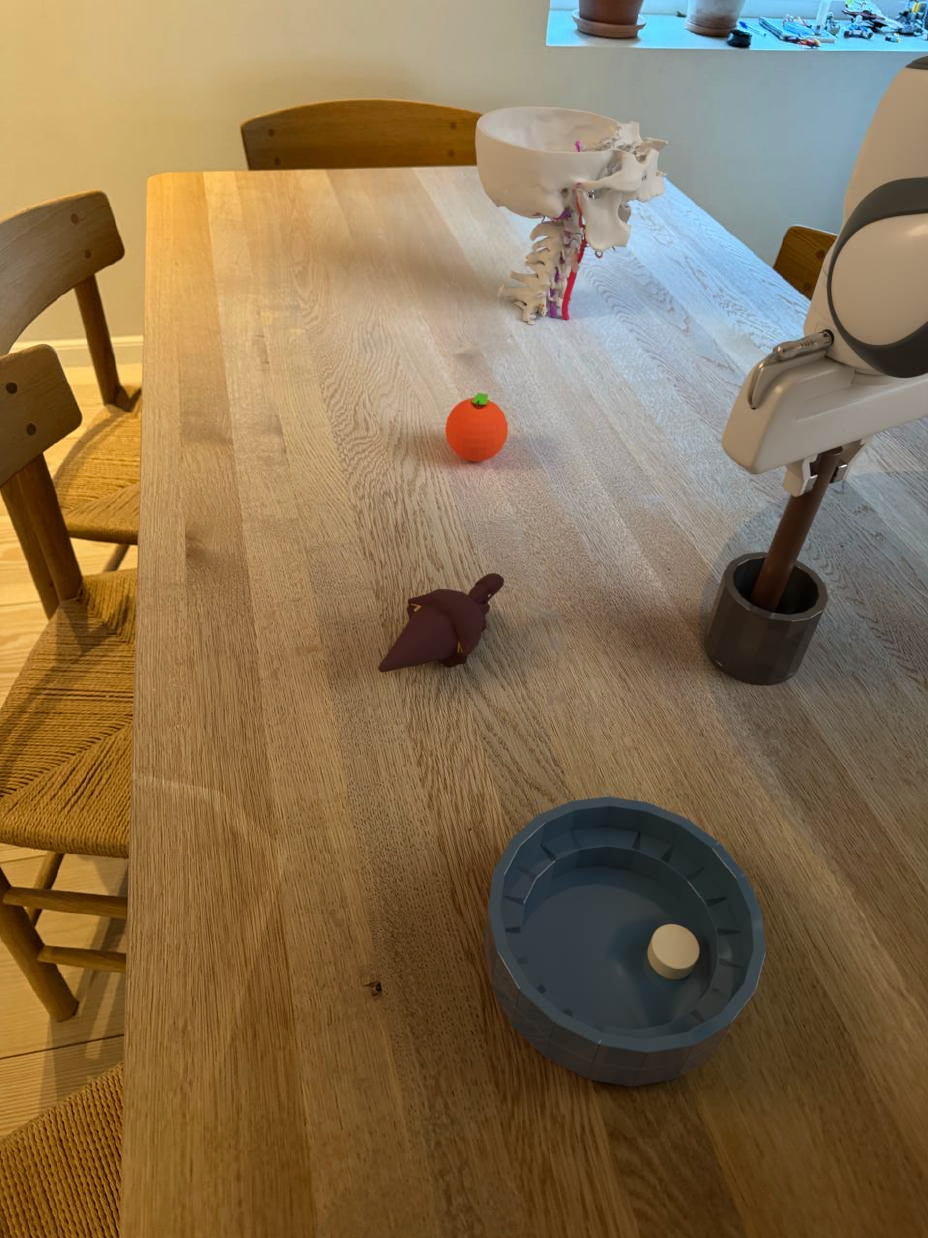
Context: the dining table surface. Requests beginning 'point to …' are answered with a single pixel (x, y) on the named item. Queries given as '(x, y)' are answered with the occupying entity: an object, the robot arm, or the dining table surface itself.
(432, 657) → the icecream
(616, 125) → the skull
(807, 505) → the stick
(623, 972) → the bowl
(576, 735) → the dining table surface
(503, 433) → the clementine
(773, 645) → the holder
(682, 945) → the dough
